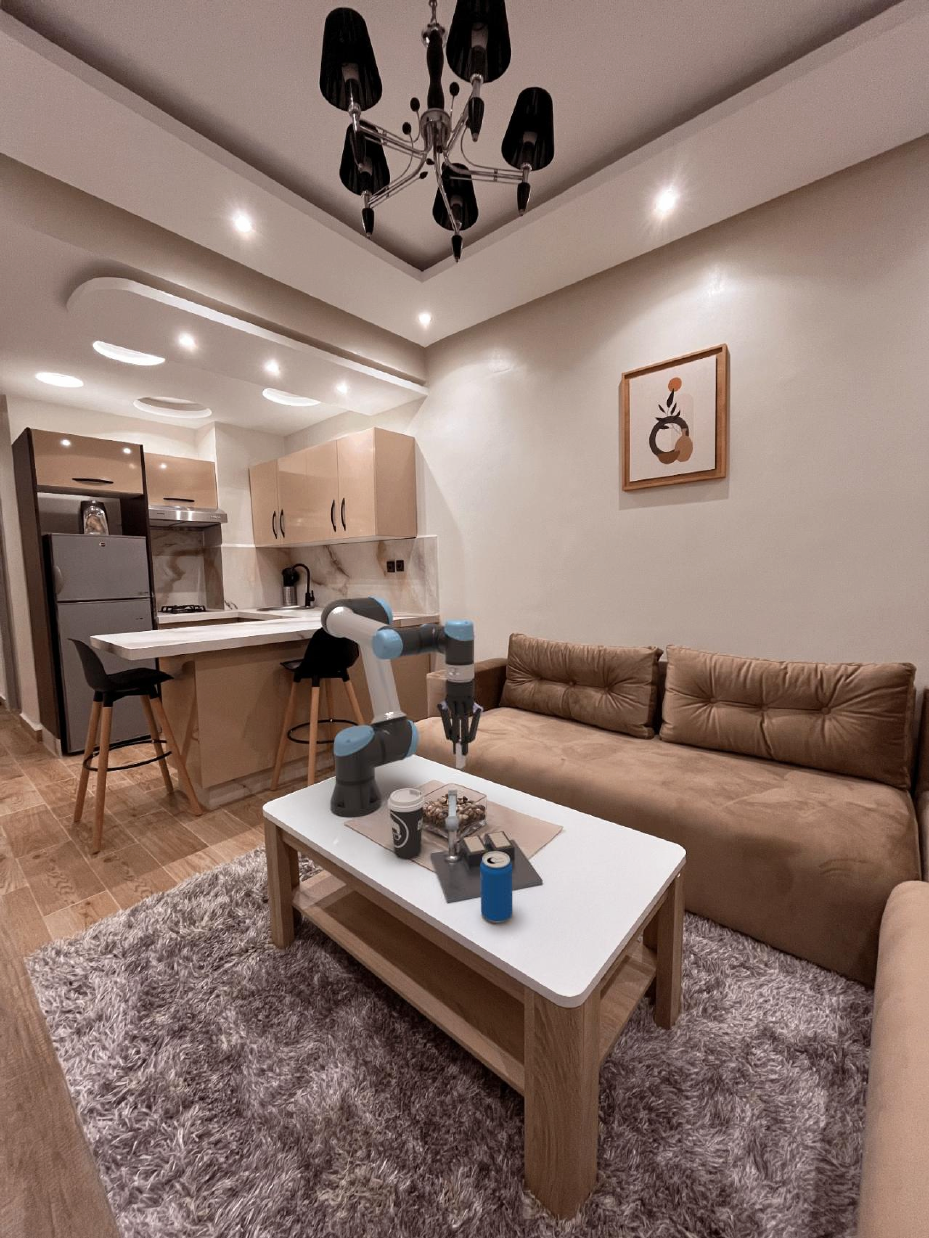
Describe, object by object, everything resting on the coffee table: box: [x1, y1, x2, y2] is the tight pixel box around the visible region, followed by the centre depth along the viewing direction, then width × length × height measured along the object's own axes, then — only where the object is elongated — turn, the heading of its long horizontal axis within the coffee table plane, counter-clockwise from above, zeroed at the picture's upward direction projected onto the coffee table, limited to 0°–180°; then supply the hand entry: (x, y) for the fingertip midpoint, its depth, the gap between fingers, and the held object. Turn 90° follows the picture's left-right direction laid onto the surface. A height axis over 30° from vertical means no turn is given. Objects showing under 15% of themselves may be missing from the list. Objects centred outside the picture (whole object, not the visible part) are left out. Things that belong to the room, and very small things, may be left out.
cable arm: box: [445, 789, 460, 831], centre depth 129 cm, size 3×18×2 cm, turn 1°
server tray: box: [429, 830, 543, 904], centre depth 118 cm, size 18×22×8 cm
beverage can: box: [480, 851, 514, 924], centre depth 102 cm, size 6×6×12 cm
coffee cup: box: [386, 787, 426, 860], centre depth 125 cm, size 10×10×15 cm
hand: (460, 766), depth 133 cm, fingers closed
